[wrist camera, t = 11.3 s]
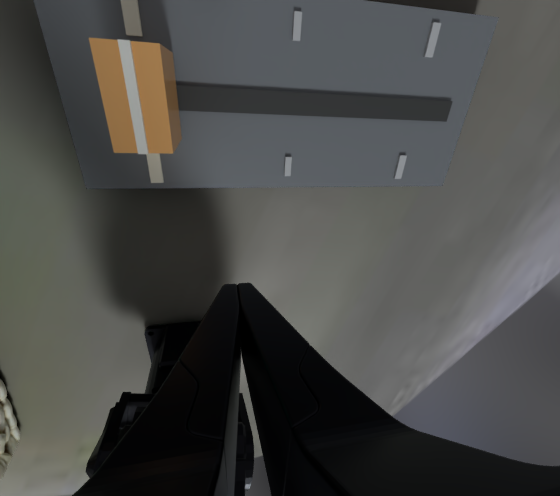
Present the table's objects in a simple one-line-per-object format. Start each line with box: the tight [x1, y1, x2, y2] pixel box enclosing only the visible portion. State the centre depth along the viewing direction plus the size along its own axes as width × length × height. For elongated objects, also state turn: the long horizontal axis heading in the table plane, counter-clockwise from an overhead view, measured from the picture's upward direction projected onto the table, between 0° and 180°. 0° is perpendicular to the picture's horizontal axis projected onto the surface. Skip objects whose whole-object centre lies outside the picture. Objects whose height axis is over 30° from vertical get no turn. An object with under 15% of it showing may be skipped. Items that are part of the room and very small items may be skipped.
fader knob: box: [89, 38, 182, 154], centre depth 13 cm, size 4×2×4 cm, turn 177°
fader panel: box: [33, 0, 499, 189], centre depth 18 cm, size 10×24×2 cm, turn 87°
